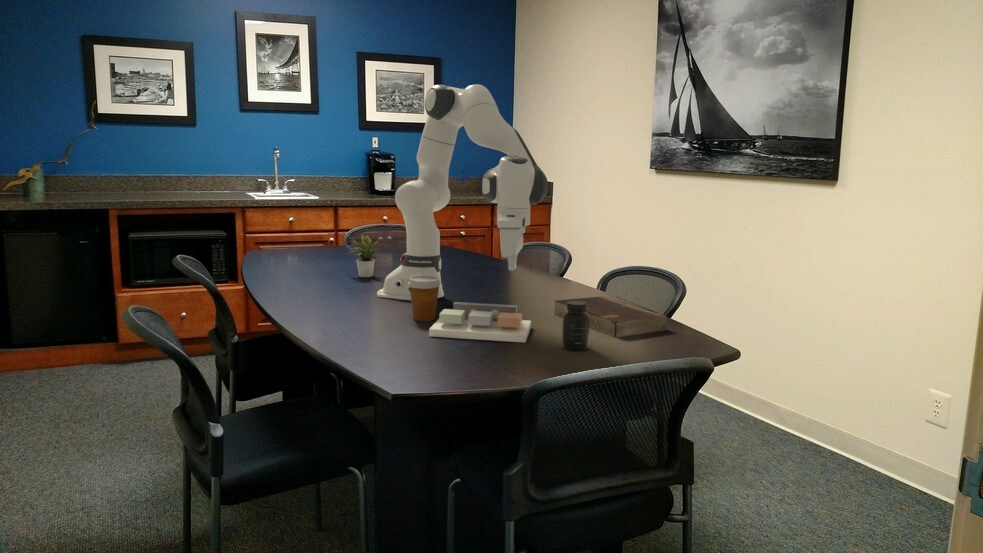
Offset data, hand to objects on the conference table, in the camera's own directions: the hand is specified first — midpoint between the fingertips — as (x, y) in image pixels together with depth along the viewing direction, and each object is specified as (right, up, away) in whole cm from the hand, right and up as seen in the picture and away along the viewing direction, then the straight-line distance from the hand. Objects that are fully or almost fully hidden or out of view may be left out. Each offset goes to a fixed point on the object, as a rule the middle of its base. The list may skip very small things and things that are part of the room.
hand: (512, 269), depth 191 cm
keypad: (-8, -17, +6) cm, 20 cm away
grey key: (-8, -16, +4) cm, 18 cm away
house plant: (-55, -2, +84) cm, 101 cm away
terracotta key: (-1, -16, +3) cm, 16 cm away
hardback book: (+29, -16, +21) cm, 39 cm away
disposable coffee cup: (-25, -15, +19) cm, 35 cm away
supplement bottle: (+16, -21, -7) cm, 27 cm away
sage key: (-16, -15, +5) cm, 23 cm away
